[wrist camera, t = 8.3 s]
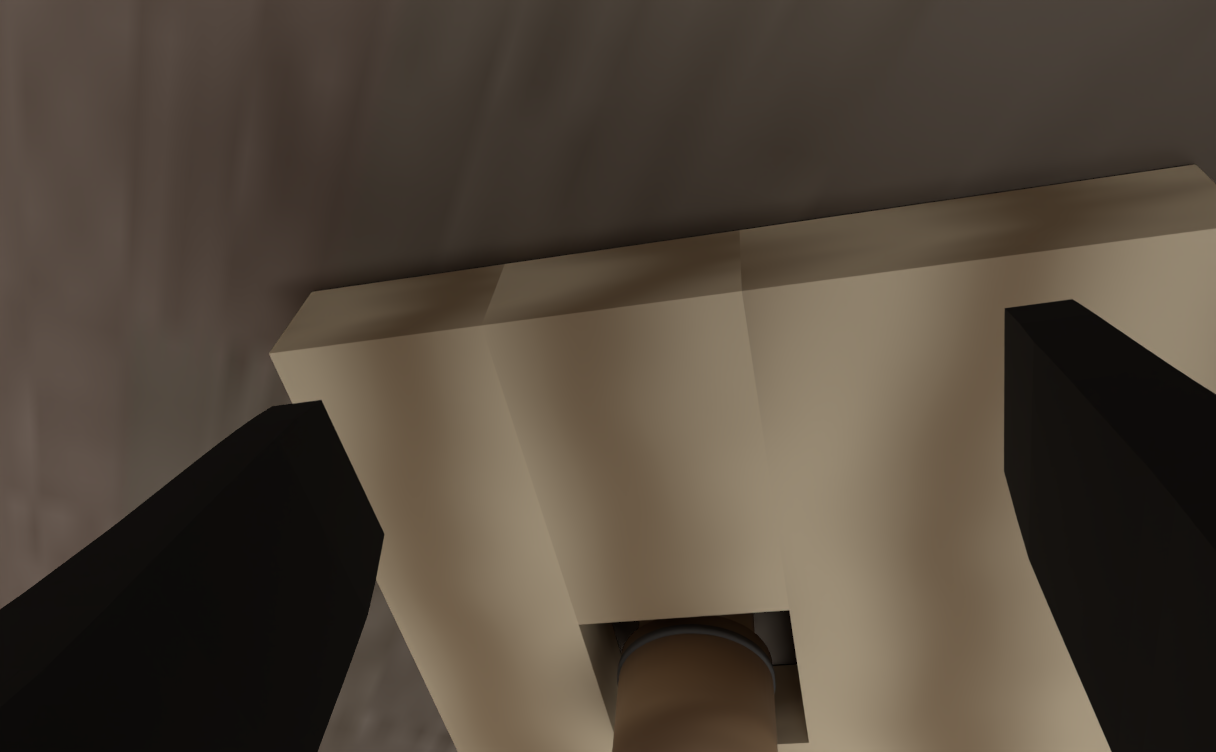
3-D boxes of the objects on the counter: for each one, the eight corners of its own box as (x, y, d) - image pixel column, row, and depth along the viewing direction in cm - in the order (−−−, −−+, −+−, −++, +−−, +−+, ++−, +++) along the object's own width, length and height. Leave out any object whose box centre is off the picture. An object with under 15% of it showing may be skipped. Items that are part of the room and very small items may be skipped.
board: (1195, 164, 18) (1256, 223, 16) (1116, 749, 28) (1148, 832, 26) (311, 291, 22) (268, 353, 19) (517, 772, 31) (503, 847, 29)
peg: (762, 545, 25) (779, 802, 19) (776, 646, 27) (795, 904, 21) (612, 557, 25) (584, 808, 20) (637, 655, 27) (619, 907, 22)
